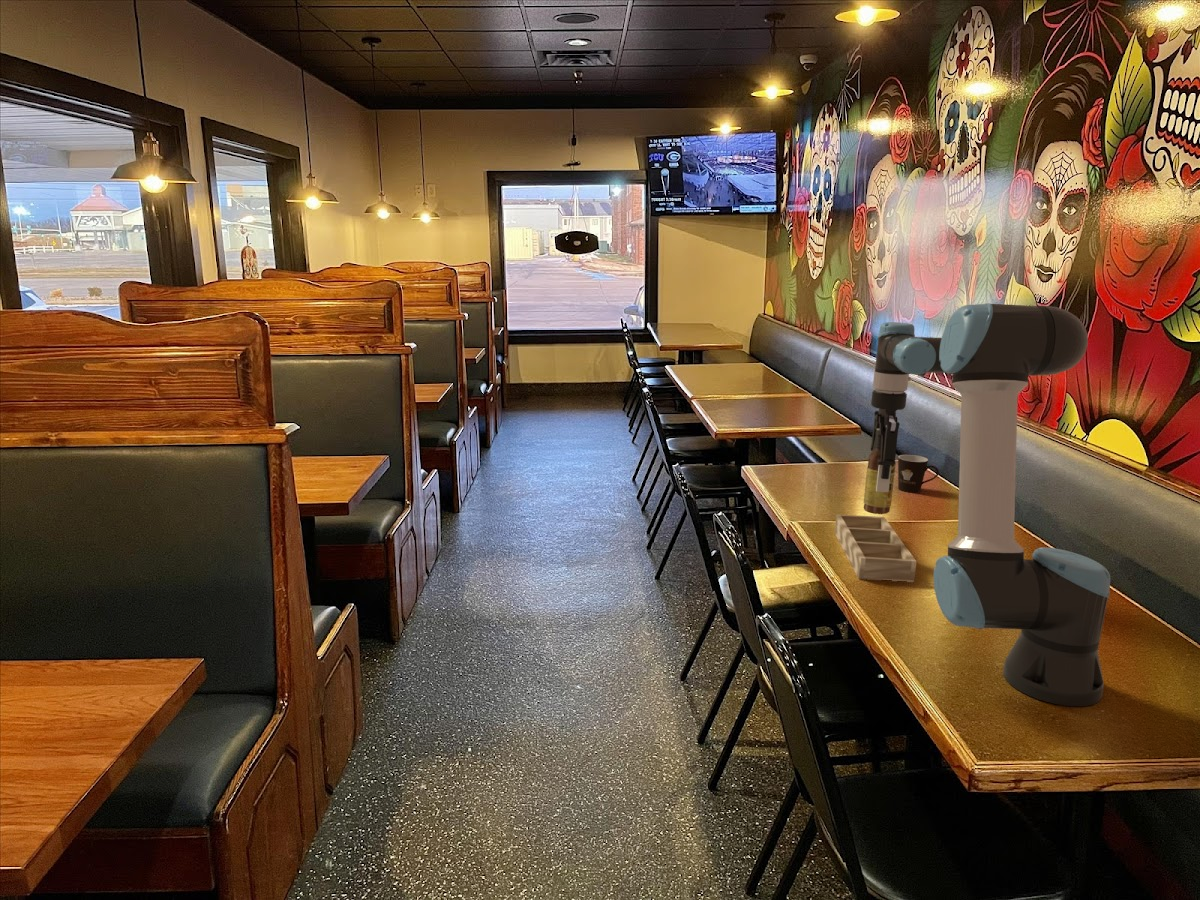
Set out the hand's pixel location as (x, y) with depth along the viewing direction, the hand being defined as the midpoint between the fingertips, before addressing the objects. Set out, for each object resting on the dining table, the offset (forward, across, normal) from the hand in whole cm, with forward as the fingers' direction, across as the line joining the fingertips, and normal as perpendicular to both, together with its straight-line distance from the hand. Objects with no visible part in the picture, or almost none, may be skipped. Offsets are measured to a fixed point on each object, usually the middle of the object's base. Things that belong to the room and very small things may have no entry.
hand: (878, 487), depth 198 cm
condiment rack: (+17, 0, 0) cm, 17 cm away
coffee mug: (+18, +59, -25) cm, 66 cm away
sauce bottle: (+6, 0, 0) cm, 6 cm away
